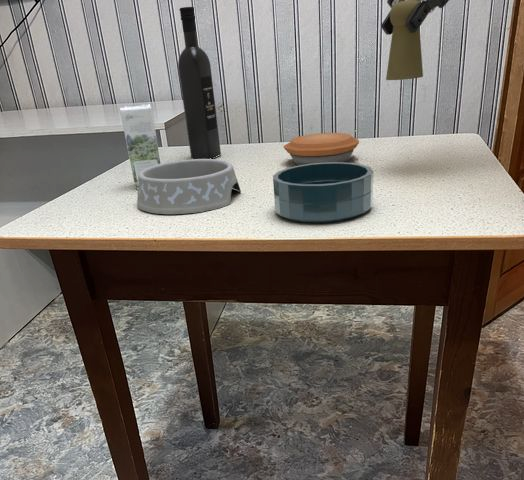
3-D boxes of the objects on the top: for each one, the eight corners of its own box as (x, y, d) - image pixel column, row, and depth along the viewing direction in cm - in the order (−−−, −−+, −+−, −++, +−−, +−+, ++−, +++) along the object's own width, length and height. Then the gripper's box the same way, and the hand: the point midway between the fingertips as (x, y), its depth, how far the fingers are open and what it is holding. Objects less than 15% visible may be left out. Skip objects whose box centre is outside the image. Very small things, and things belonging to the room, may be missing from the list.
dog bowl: (249, 184, 100) (246, 154, 97) (223, 214, 84) (218, 179, 82) (163, 187, 103) (158, 158, 101) (123, 216, 88) (116, 183, 85)
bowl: (346, 192, 89) (345, 158, 87) (390, 213, 77) (391, 174, 75) (263, 206, 86) (260, 171, 83) (295, 231, 74) (293, 191, 71)
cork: (416, 78, 87) (419, -2, 81) (380, 80, 90) (381, 3, 84) (427, 75, 91) (432, -2, 85) (393, 77, 94) (395, 2, 88)
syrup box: (163, 180, 109) (150, 102, 102) (165, 186, 104) (151, 105, 97) (135, 184, 108) (119, 105, 101) (135, 190, 103) (119, 108, 96)
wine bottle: (223, 155, 127) (205, 5, 112) (209, 160, 123) (189, 6, 108) (203, 155, 130) (184, 8, 115) (189, 160, 126) (167, 9, 110)
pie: (369, 153, 115) (369, 128, 112) (344, 170, 103) (343, 143, 101) (303, 153, 122) (301, 129, 119) (272, 168, 110) (270, 143, 107)
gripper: (415, -76, 88) (356, 15, 89) (485, -98, 77) (416, 7, 78) (437, -38, 92) (380, 48, 94) (506, -53, 81) (441, 45, 83)
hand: (397, 29), depth 86 cm, fingers closed on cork, 5 cm apart
